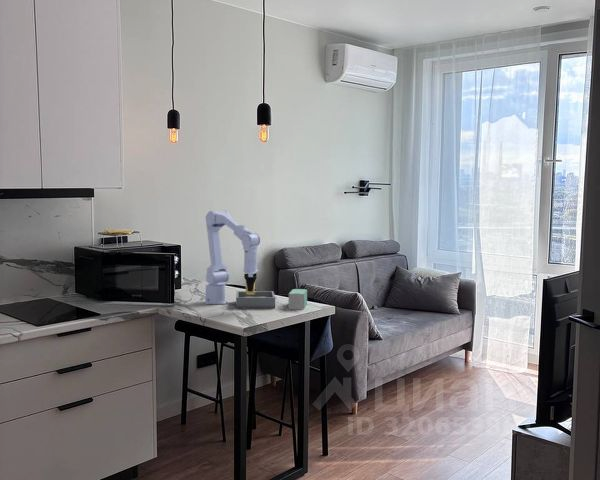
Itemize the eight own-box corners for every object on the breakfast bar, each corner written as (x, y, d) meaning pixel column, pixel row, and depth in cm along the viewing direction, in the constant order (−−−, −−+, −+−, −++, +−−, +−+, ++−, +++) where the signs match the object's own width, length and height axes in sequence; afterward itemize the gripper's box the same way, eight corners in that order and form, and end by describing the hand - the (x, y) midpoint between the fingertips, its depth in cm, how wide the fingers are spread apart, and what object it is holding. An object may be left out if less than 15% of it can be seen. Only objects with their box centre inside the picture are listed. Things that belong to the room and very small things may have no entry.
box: (307, 304, 293) (307, 288, 292) (304, 310, 279) (304, 294, 278) (292, 303, 293) (292, 288, 293) (288, 309, 280) (288, 293, 279)
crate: (236, 308, 279) (236, 297, 278) (236, 301, 295) (236, 291, 294) (275, 308, 281) (275, 297, 280) (273, 301, 297) (273, 291, 296)
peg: (245, 294, 272) (245, 281, 271) (245, 293, 276) (245, 280, 275) (254, 294, 272) (254, 281, 272) (254, 293, 276) (254, 280, 276)
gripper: (259, 262, 266) (259, 293, 267) (259, 258, 280) (258, 287, 281) (243, 262, 265) (243, 293, 266) (243, 258, 279) (243, 287, 281)
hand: (250, 290), depth 274 cm, fingers closed on peg, 4 cm apart
